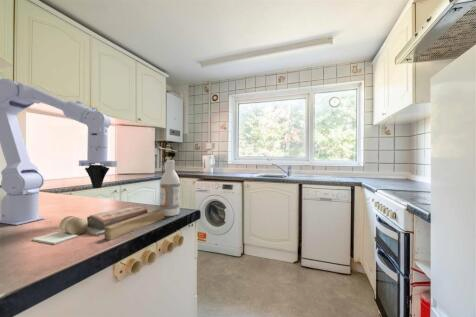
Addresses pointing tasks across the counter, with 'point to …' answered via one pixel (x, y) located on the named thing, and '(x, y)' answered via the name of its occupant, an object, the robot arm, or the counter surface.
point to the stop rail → (133, 224)
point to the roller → (73, 225)
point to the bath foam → (170, 190)
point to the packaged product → (111, 218)
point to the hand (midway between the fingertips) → (97, 187)
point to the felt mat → (55, 238)
